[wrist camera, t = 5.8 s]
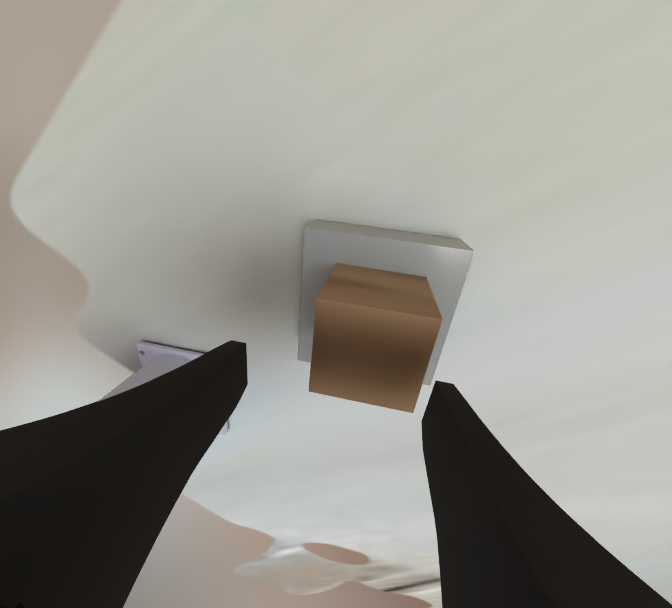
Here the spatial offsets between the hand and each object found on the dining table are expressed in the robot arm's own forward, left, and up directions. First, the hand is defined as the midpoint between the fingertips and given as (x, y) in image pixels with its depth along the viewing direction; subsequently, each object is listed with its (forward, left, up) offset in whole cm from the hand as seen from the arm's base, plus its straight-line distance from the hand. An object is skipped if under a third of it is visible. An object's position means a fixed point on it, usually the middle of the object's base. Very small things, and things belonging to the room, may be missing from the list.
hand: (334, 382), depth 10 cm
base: (0, -1, -10) cm, 10 cm away
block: (0, -1, -7) cm, 7 cm away
